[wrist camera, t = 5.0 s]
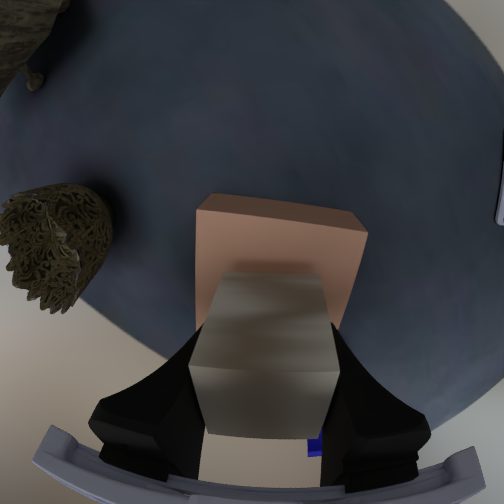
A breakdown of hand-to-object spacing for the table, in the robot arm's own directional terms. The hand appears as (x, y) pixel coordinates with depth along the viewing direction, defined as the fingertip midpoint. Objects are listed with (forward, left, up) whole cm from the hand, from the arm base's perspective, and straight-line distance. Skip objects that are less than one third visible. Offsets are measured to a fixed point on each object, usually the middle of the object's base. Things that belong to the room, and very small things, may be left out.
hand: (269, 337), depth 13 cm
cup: (+13, -4, -8) cm, 16 cm away
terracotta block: (0, 0, -8) cm, 8 cm away
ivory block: (0, 0, -2) cm, 2 cm away
